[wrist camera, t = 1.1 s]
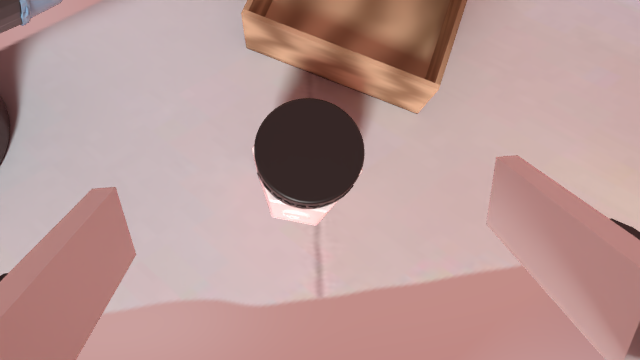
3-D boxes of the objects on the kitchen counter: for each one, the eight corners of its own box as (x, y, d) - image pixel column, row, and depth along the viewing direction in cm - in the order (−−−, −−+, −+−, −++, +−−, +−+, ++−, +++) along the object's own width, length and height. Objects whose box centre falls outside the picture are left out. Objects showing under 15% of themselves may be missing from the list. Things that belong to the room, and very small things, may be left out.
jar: (249, 215, 39) (236, 191, 27) (266, 138, 41) (261, 85, 29) (337, 232, 40) (361, 216, 28) (350, 155, 41) (378, 110, 30)
